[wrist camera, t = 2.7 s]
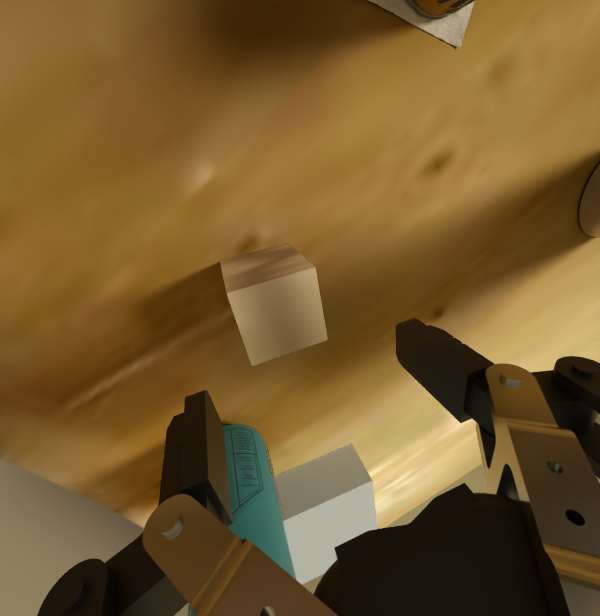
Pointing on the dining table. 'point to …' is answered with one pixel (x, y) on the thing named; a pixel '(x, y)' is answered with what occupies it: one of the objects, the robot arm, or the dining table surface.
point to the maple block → (274, 302)
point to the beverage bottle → (254, 495)
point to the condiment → (434, 16)
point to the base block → (324, 508)
